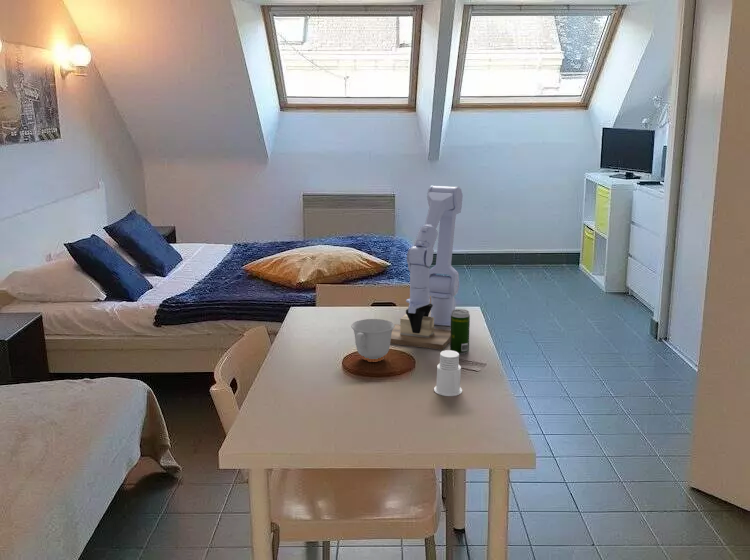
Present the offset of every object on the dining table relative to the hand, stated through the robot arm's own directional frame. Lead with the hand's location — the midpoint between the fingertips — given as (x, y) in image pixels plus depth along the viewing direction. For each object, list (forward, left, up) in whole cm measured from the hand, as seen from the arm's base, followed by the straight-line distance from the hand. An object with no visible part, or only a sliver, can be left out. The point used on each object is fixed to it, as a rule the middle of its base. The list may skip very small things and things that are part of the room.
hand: (419, 330), depth 219 cm
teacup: (+23, -7, -3) cm, 24 cm away
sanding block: (0, -1, -1) cm, 1 cm away
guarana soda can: (+7, +14, -3) cm, 16 cm away
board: (0, -1, -3) cm, 3 cm away
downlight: (+36, +19, -3) cm, 41 cm away
